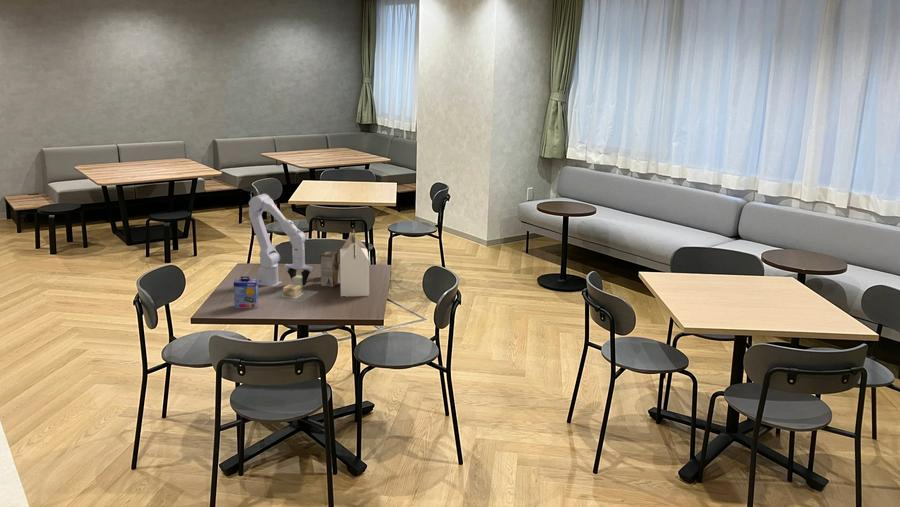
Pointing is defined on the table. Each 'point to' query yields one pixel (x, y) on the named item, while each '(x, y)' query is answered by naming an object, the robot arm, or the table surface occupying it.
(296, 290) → the maple base block
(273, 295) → the board
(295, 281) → the sage top block
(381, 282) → the table surface
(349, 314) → the table surface
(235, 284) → the ink cartridge box
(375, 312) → the table surface
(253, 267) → the table surface
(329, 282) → the coffee box
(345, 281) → the gable box
